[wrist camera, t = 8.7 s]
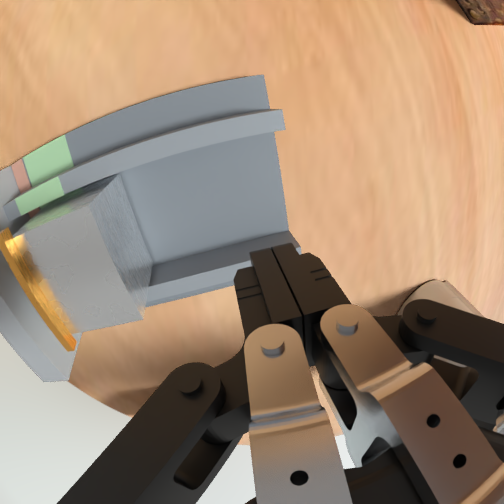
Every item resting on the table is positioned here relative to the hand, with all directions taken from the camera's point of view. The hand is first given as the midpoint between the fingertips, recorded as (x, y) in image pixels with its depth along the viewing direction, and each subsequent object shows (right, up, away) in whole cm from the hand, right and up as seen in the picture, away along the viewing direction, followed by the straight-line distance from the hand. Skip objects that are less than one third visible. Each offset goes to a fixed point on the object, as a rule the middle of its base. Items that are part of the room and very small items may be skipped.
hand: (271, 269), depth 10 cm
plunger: (-11, +2, +7) cm, 14 cm away
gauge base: (-9, +3, +9) cm, 13 cm away
